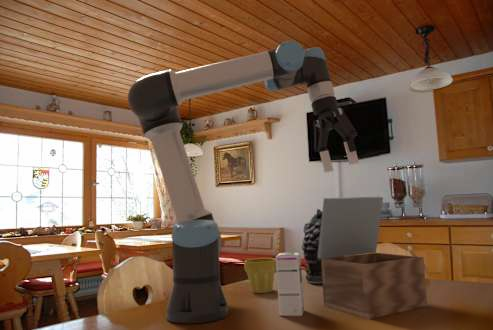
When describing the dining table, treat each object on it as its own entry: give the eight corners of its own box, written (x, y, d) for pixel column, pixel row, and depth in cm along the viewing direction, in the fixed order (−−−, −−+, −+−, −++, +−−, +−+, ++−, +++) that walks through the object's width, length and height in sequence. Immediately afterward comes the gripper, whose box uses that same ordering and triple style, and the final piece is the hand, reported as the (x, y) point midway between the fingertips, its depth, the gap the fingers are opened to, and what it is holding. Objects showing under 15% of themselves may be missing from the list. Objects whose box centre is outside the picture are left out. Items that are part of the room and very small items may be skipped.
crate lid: (326, 199, 105) (323, 198, 106) (320, 258, 107) (317, 257, 108) (383, 197, 115) (379, 196, 116) (376, 252, 117) (372, 250, 118)
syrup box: (302, 316, 96) (299, 254, 98) (278, 316, 98) (275, 254, 99) (304, 310, 102) (301, 251, 104) (280, 310, 103) (278, 252, 105)
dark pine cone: (306, 275, 155) (303, 209, 157) (347, 275, 151) (342, 208, 154) (299, 285, 135) (295, 210, 137) (346, 286, 131) (341, 208, 134)
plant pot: (240, 294, 125) (239, 261, 126) (251, 287, 135) (250, 257, 136) (273, 295, 122) (271, 261, 123) (281, 288, 131) (280, 257, 132)
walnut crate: (369, 319, 92) (365, 265, 93) (323, 305, 106) (321, 259, 107) (427, 306, 102) (423, 257, 103) (379, 295, 115) (376, 252, 117)
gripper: (357, 82, 111) (377, 157, 109) (313, 110, 134) (329, 172, 132) (334, 85, 109) (354, 162, 106) (293, 113, 132) (310, 176, 130)
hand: (341, 168), depth 119 cm, fingers open, 13 cm apart
